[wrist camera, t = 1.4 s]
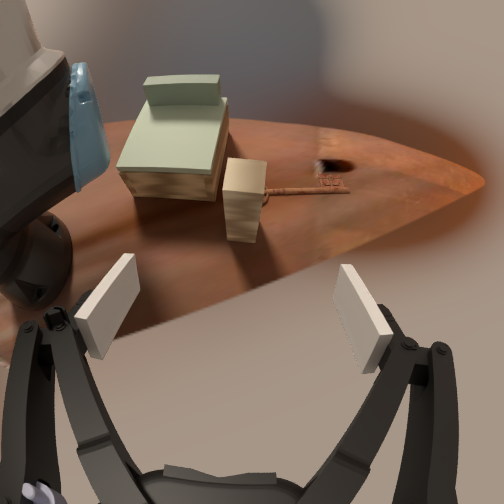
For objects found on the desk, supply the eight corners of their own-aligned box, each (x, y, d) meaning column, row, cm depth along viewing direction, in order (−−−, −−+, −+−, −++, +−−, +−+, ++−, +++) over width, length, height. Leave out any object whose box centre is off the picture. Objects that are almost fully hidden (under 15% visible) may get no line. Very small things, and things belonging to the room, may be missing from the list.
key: (340, 171, 39) (242, 173, 38) (342, 168, 38) (243, 169, 37) (351, 203, 37) (246, 207, 35) (353, 199, 36) (247, 203, 35)
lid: (118, 171, 29) (103, 146, 25) (149, 102, 33) (142, 77, 29) (211, 174, 29) (207, 146, 25) (227, 102, 34) (226, 75, 29)
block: (227, 240, 34) (222, 189, 22) (230, 215, 35) (228, 157, 23) (255, 243, 34) (263, 193, 22) (257, 217, 35) (266, 161, 24)
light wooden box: (133, 196, 35) (118, 172, 29) (157, 129, 39) (149, 103, 34) (215, 201, 35) (211, 176, 30) (228, 131, 39) (228, 103, 34)
